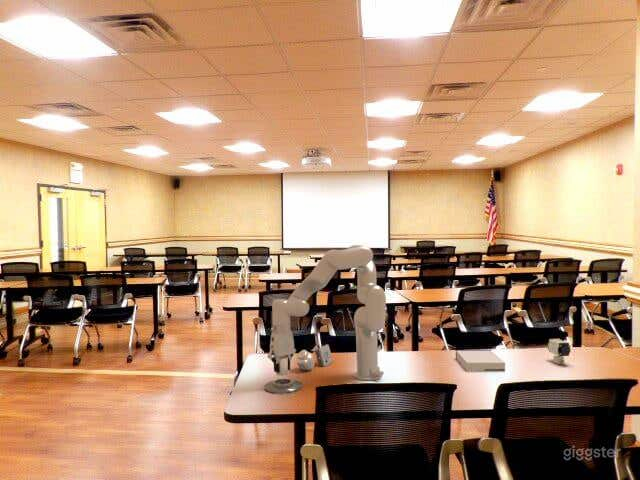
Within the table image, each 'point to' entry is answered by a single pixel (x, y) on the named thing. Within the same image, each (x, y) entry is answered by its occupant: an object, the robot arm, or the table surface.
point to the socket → (283, 386)
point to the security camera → (558, 349)
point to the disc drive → (480, 361)
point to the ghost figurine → (305, 360)
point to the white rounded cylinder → (283, 365)
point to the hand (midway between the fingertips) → (282, 370)
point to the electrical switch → (324, 356)
